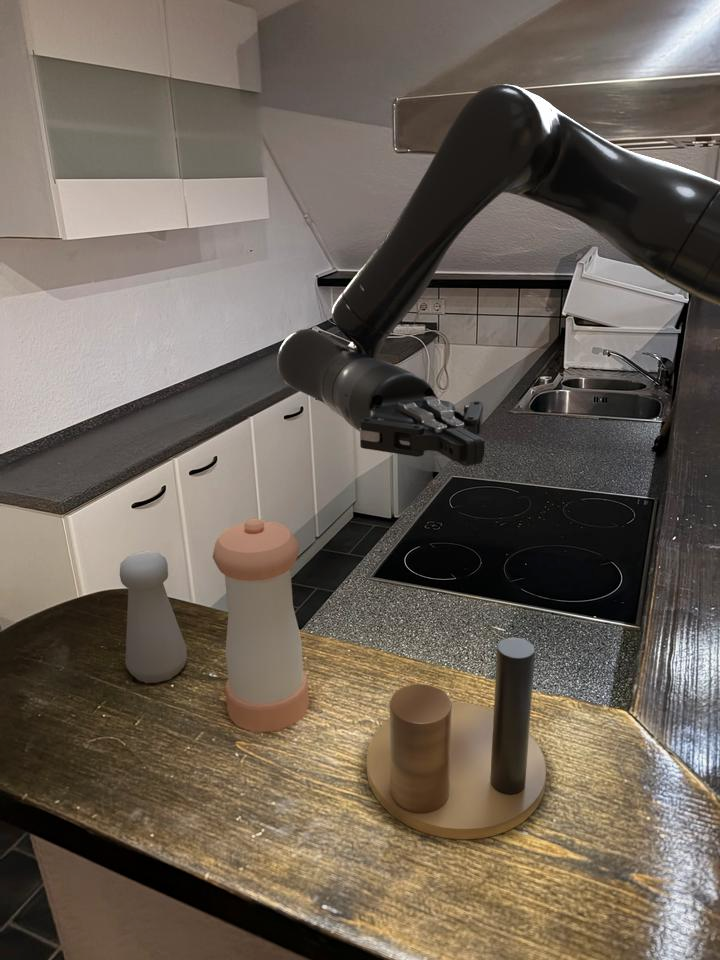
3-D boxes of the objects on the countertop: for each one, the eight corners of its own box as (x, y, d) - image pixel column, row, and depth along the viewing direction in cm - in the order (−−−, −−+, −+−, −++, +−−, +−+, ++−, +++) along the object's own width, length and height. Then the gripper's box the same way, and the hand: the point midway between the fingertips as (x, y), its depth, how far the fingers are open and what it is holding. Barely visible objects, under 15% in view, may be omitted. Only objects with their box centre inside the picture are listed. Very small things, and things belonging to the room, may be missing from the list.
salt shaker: (146, 656, 77) (128, 541, 73) (198, 661, 76) (185, 545, 71) (117, 691, 72) (97, 570, 67) (174, 698, 71) (157, 575, 66)
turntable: (573, 752, 62) (587, 613, 57) (494, 872, 51) (504, 715, 46) (425, 691, 69) (426, 564, 65) (331, 784, 59) (324, 642, 54)
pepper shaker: (322, 698, 70) (313, 509, 63) (287, 750, 64) (272, 546, 57) (253, 681, 73) (237, 498, 66) (212, 730, 67) (190, 532, 60)
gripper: (318, 372, 72) (401, 420, 57) (441, 356, 77) (546, 397, 62) (321, 447, 75) (401, 511, 60) (439, 427, 80) (540, 483, 65)
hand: (475, 453), depth 61 cm, fingers closed
